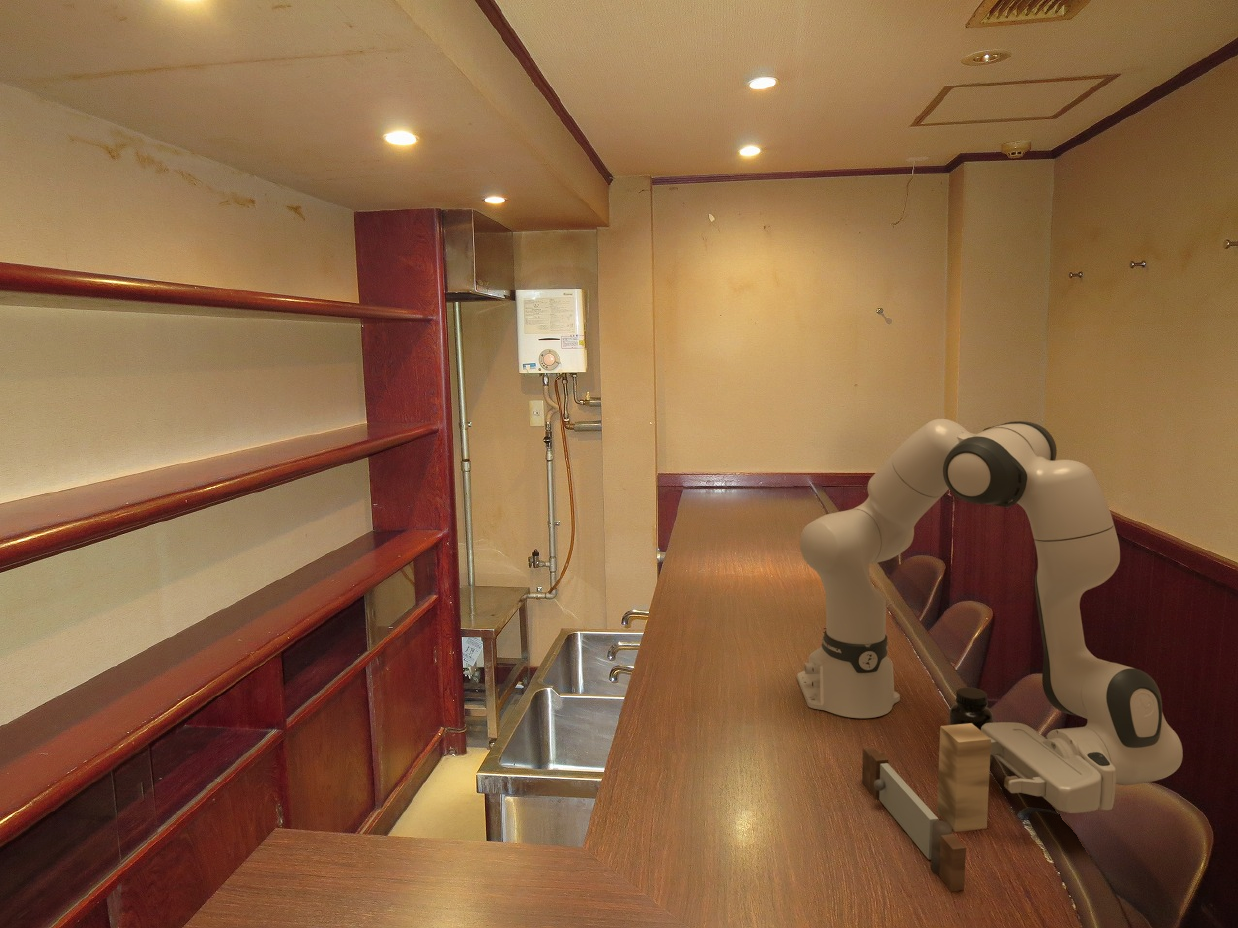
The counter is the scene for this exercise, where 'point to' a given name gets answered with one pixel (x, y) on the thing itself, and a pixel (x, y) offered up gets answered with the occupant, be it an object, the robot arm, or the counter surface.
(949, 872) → the gate frame
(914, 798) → the gate
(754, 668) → the counter surface
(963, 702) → the supplement bottle
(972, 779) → the beech block
